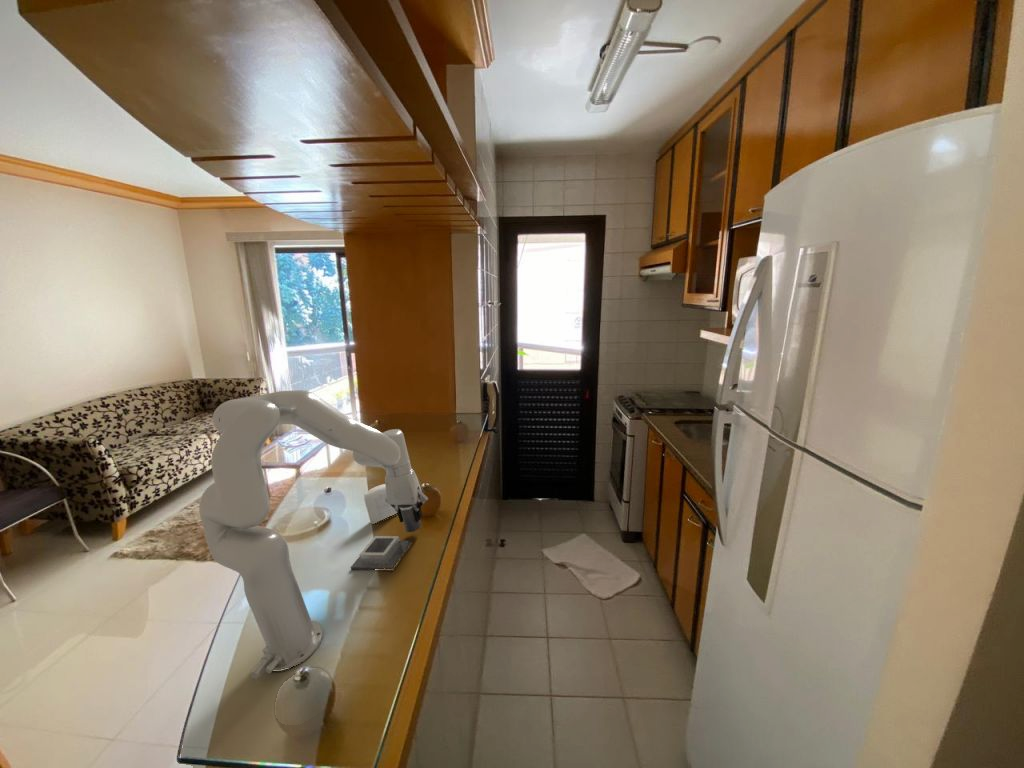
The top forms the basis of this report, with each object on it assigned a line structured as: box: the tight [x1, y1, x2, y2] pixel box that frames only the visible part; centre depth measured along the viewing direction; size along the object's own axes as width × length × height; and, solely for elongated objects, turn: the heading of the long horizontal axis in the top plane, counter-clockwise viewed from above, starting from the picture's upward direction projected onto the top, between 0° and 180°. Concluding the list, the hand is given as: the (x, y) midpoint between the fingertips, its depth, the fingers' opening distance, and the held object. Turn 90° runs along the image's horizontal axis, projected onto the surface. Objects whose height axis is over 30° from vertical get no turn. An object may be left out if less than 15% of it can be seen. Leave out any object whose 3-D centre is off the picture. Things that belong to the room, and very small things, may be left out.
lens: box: [399, 505, 422, 533], centre depth 127 cm, size 5×5×9 cm
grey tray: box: [350, 535, 413, 571], centre depth 120 cm, size 12×14×4 cm
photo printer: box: [363, 483, 397, 525], centre depth 141 cm, size 10×4×12 cm, turn 123°
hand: (411, 519), depth 128 cm, fingers closed on lens, 5 cm apart
